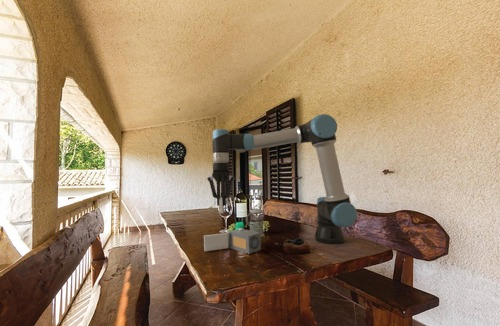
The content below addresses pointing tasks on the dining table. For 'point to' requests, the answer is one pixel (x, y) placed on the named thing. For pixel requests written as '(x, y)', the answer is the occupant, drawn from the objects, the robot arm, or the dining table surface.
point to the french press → (256, 221)
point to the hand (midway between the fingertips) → (221, 212)
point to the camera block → (245, 240)
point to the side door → (216, 241)
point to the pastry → (296, 246)
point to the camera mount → (239, 225)
